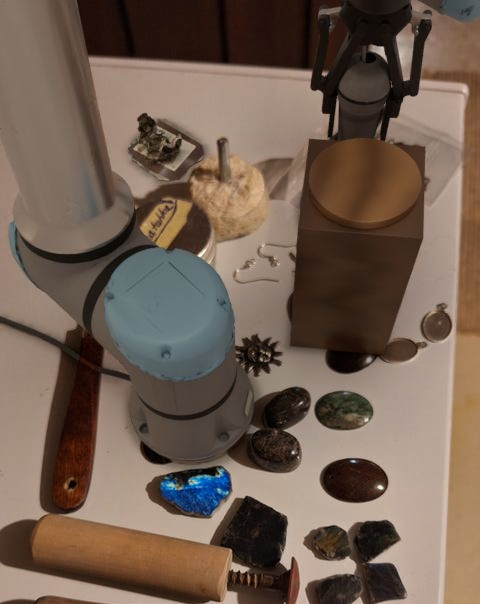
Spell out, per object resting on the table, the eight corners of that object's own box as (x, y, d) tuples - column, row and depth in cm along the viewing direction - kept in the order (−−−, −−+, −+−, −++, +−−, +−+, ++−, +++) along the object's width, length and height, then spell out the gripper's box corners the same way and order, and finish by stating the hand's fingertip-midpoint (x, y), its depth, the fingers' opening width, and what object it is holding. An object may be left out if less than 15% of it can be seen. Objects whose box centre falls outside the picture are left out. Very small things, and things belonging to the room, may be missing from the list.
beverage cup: (360, 180, 92) (383, 50, 74) (319, 159, 94) (331, 27, 76) (387, 150, 95) (415, 16, 76) (346, 130, 97) (364, -5, 78)
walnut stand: (289, 346, 81) (297, 228, 61) (298, 270, 86) (308, 138, 66) (383, 355, 80) (423, 238, 60) (387, 278, 85) (425, 146, 65)
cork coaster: (303, 224, 62) (304, 217, 61) (313, 142, 66) (313, 134, 65) (418, 233, 61) (420, 226, 60) (420, 149, 65) (422, 141, 64)
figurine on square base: (202, 178, 92) (129, 153, 89) (190, 202, 98) (121, 179, 95) (213, 111, 95) (143, 84, 92) (201, 138, 101) (134, 114, 98)
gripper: (475, -58, 70) (426, 118, 91) (298, -65, 72) (290, 109, 93) (476, -15, 67) (425, 156, 88) (291, -23, 69) (285, 147, 90)
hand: (356, 132), depth 91 cm, fingers closed on beverage cup, 7 cm apart
